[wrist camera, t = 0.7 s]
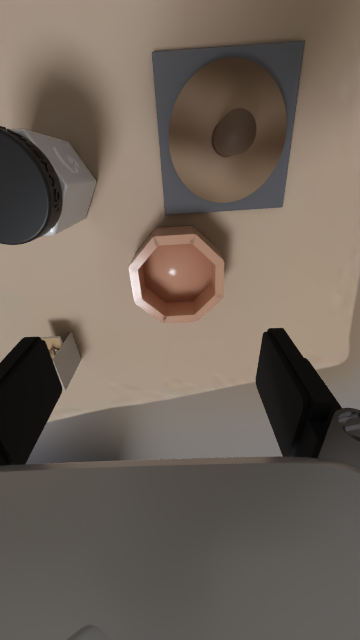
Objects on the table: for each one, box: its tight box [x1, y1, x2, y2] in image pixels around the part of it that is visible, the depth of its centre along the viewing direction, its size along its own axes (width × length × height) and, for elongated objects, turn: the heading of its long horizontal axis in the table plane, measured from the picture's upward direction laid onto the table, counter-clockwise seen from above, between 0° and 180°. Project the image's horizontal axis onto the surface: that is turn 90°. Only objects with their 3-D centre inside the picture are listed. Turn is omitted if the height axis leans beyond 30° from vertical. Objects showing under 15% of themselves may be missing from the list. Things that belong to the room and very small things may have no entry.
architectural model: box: [40, 332, 81, 391], centre depth 38 cm, size 3×7×7 cm, turn 4°
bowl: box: [129, 225, 224, 323], centre depth 32 cm, size 11×11×5 cm
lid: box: [169, 57, 287, 203], centre depth 24 cm, size 12×12×6 cm
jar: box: [0, 126, 96, 245], centre depth 24 cm, size 9×8×12 cm
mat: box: [152, 41, 305, 215], centre depth 27 cm, size 14×14×1 cm
